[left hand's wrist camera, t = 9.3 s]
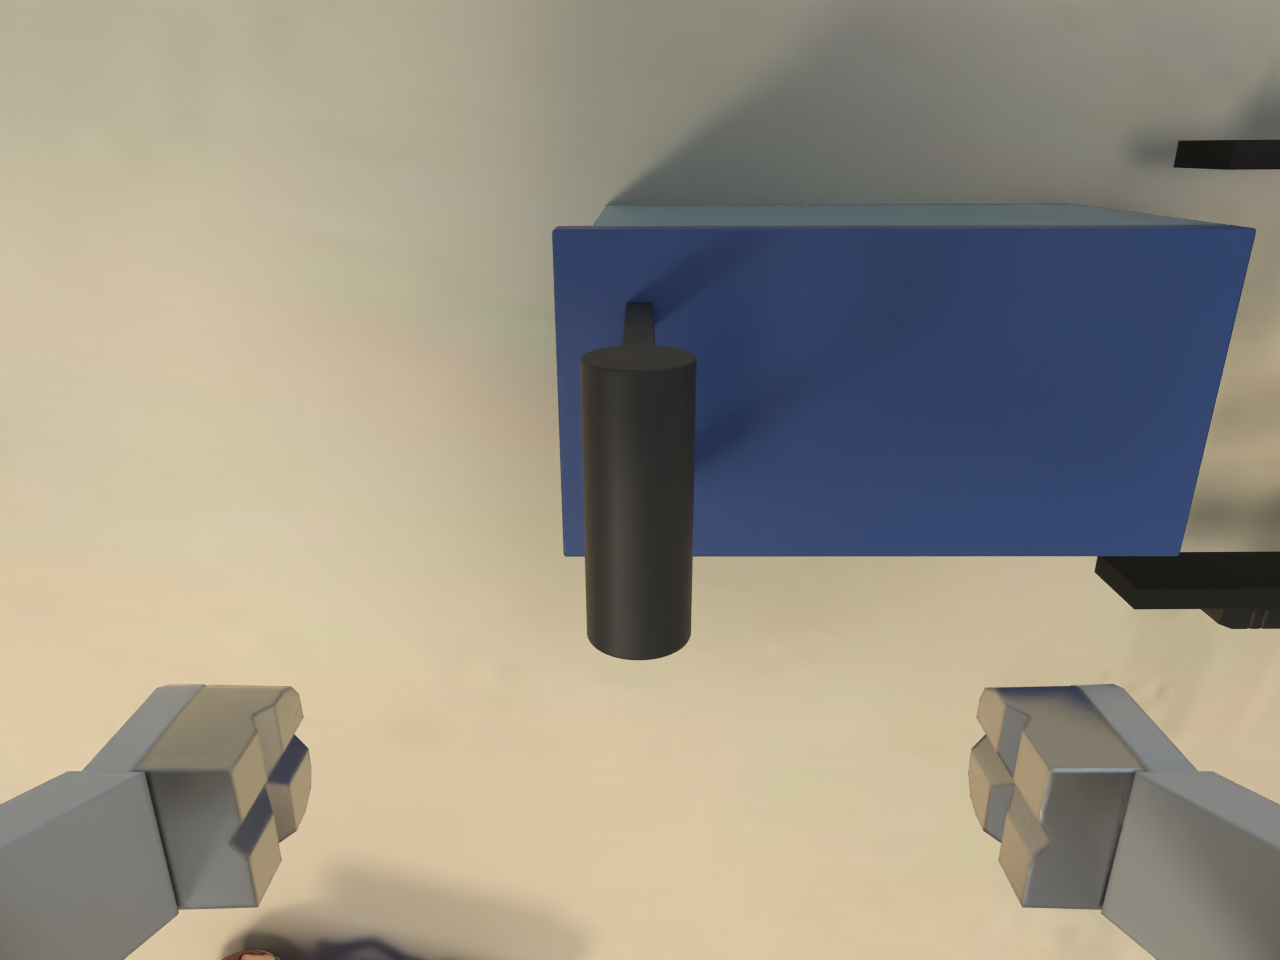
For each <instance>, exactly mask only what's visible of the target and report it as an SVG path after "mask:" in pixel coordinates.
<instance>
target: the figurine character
mask: <svg viewBox="0 0 1280 960" xmlns="http://www.w3.org/2000/svg"><path fill="white" fill-rule="evenodd" d="M222 960H280V959H279V958H278V957H276V956H275V955H273V954H270V953H268V952H265V951H260V950H246V951H241V952H237V953H234V954H232V955H229V956H227V957H225V958H224V959H222Z"/></svg>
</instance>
